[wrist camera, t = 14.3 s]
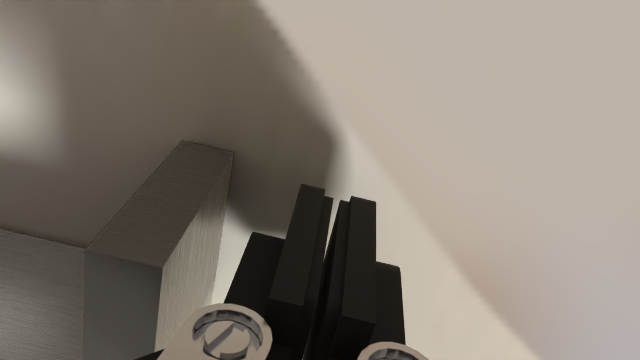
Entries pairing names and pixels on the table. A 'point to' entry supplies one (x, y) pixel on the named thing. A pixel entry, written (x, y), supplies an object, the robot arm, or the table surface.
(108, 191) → the table surface
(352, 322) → the robot arm
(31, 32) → the table surface
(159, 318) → the grey l-shaped block
